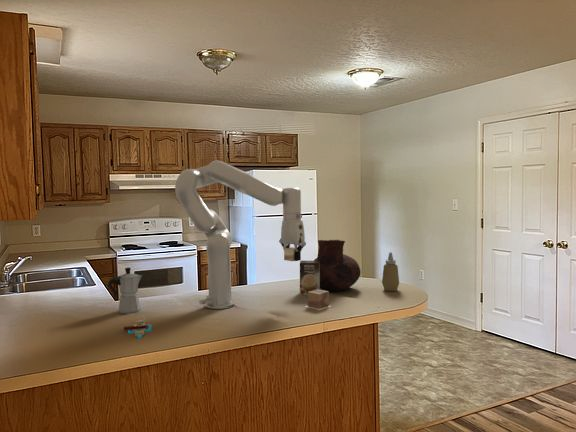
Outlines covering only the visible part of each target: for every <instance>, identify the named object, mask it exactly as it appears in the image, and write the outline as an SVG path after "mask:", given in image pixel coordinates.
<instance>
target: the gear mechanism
mask: <svg viewBox="0 0 576 432" xmlns="http://www.w3.org/2000/svg"><path fill="white" fill-rule="evenodd" d="M123 331H127V334H134V337H137V339H139V340H140V339H142V336H144V335H145V333H147V332H152V324H149V323H148V324H146V323H145V315H142V319H139V320H135V324H133V325H131V326H123Z"/></svg>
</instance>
